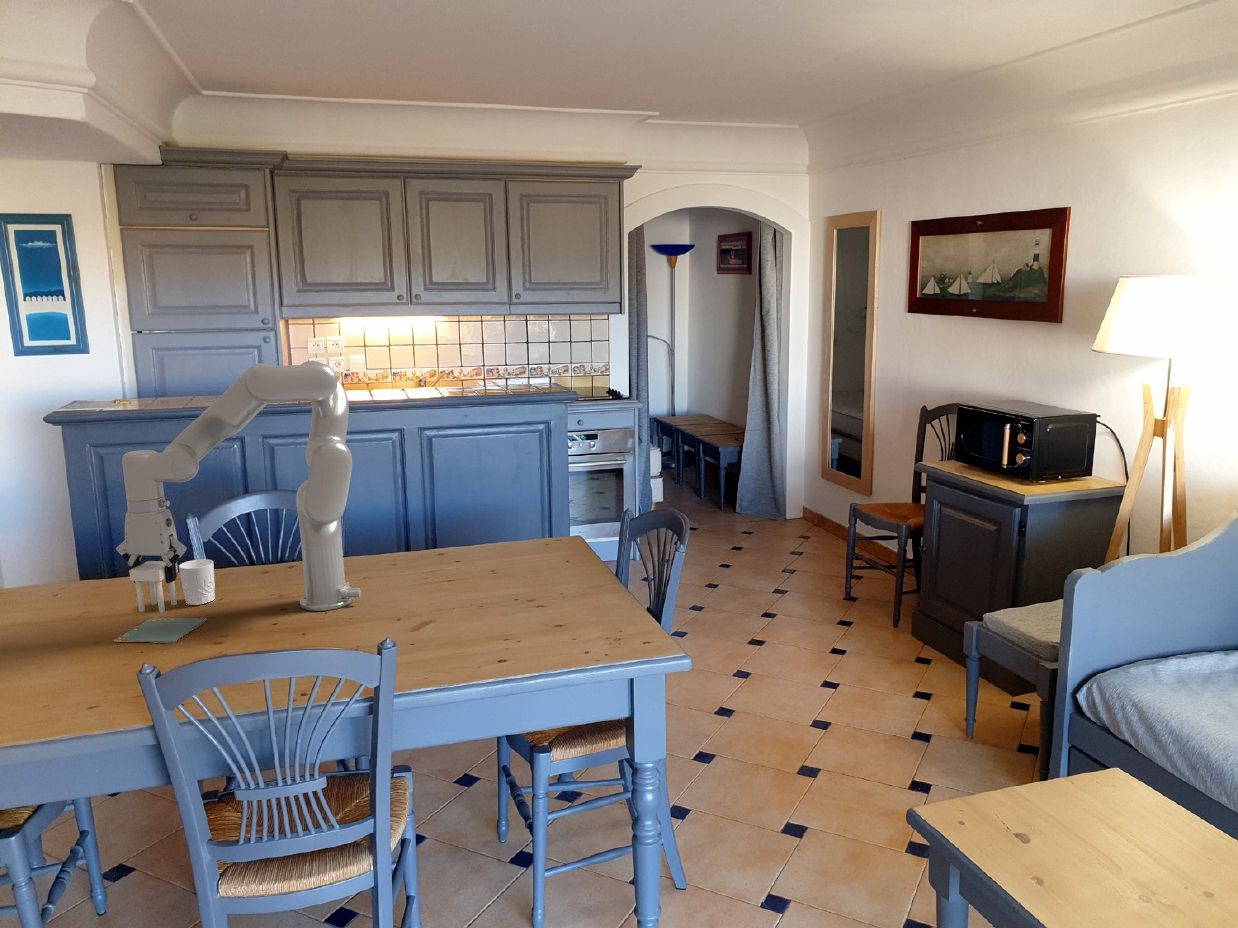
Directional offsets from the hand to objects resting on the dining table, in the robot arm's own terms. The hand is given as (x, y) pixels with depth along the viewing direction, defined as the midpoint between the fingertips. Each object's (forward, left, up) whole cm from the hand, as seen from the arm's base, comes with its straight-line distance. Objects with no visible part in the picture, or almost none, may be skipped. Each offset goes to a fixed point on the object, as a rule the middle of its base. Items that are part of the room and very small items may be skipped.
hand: (155, 580), depth 205 cm
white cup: (+2, -20, -12) cm, 24 cm away
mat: (0, 0, -12) cm, 12 cm away
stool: (0, 0, -6) cm, 6 cm away
